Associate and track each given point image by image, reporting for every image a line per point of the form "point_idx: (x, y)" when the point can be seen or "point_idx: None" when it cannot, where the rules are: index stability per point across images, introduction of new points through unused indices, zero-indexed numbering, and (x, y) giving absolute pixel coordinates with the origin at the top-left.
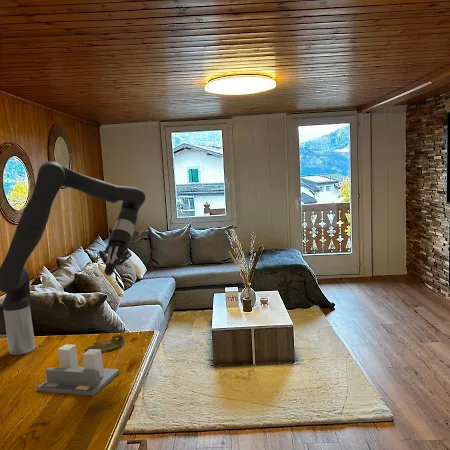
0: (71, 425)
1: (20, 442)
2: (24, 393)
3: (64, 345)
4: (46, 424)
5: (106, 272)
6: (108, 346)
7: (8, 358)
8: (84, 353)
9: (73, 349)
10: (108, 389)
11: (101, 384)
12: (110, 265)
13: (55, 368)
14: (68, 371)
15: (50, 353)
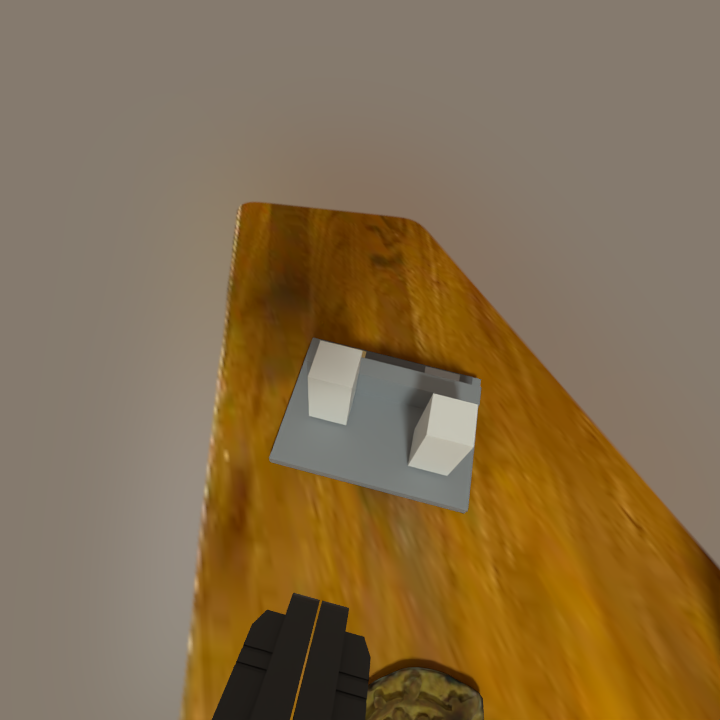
0: (322, 250)
1: (393, 221)
2: (503, 375)
3: (471, 435)
4: (374, 258)
5: (322, 603)
6: (373, 711)
7: None
8: (357, 354)
9: (426, 423)
10: (282, 368)
11: (302, 369)
12: (259, 702)
13: (454, 391)
14: (401, 367)
15: (634, 696)
